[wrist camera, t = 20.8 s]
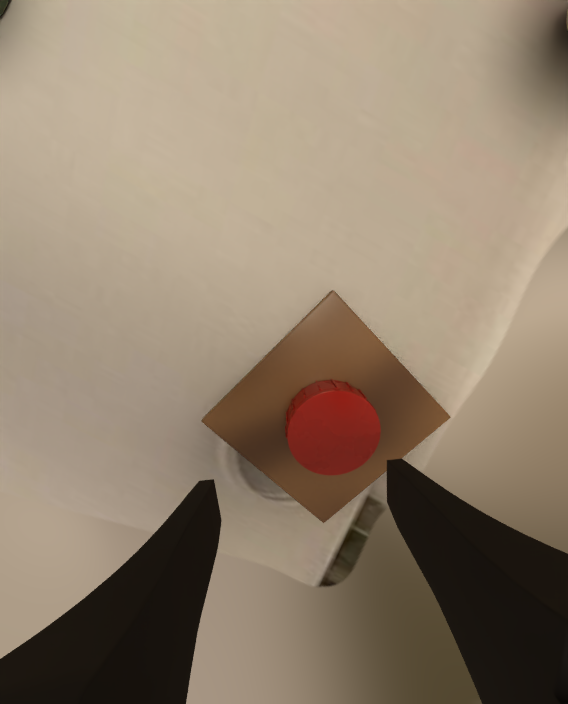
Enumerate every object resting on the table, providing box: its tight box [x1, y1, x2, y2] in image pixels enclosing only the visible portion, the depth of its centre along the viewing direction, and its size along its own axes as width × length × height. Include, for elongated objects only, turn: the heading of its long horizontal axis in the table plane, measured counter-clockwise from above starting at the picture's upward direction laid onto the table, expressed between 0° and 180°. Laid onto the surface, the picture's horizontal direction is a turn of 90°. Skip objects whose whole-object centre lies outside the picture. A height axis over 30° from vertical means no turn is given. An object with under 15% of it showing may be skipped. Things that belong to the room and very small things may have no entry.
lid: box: [285, 379, 381, 475], centre depth 16 cm, size 5×5×2 cm
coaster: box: [202, 291, 450, 523], centre depth 17 cm, size 11×11×1 cm
